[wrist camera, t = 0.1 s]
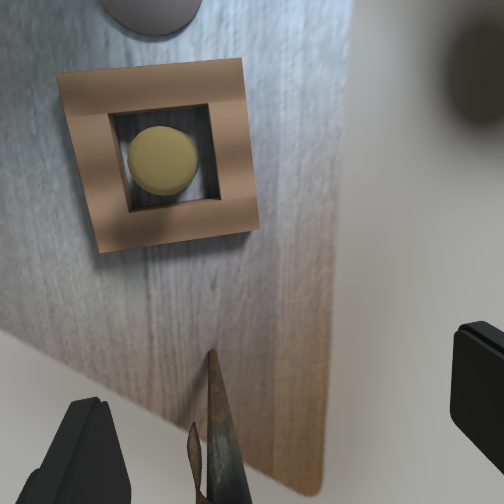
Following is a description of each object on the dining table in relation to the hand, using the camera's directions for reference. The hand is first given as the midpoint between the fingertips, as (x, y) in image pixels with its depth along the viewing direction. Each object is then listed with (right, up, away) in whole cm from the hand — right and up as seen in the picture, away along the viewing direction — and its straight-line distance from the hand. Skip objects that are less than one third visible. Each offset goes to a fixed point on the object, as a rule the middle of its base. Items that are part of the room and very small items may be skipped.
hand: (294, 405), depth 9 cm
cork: (-10, +14, +27) cm, 32 cm away
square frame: (-10, +14, +27) cm, 32 cm away
